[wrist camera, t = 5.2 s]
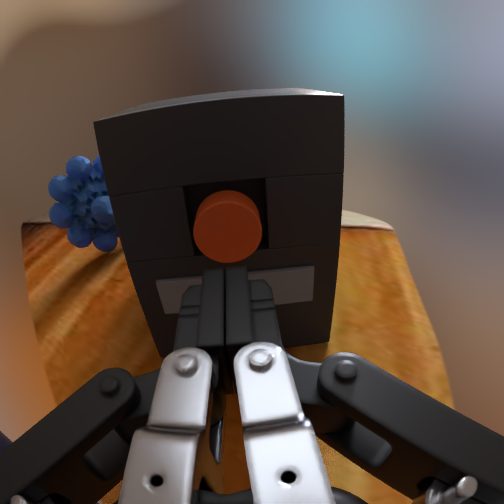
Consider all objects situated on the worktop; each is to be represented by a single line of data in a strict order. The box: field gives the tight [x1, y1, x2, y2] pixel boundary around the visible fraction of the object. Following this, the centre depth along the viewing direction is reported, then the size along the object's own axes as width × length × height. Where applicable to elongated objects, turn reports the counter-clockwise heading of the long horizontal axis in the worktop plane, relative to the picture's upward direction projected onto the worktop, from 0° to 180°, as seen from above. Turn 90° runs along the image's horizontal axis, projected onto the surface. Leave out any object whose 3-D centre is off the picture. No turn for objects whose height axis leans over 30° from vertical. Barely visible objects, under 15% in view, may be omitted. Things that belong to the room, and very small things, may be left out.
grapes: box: [48, 156, 120, 252], centre depth 31 cm, size 12×7×12 cm, turn 132°
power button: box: [193, 190, 262, 263], centre depth 15 cm, size 3×2×3 cm, turn 94°
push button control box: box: [94, 88, 344, 356], centre depth 21 cm, size 12×10×16 cm
